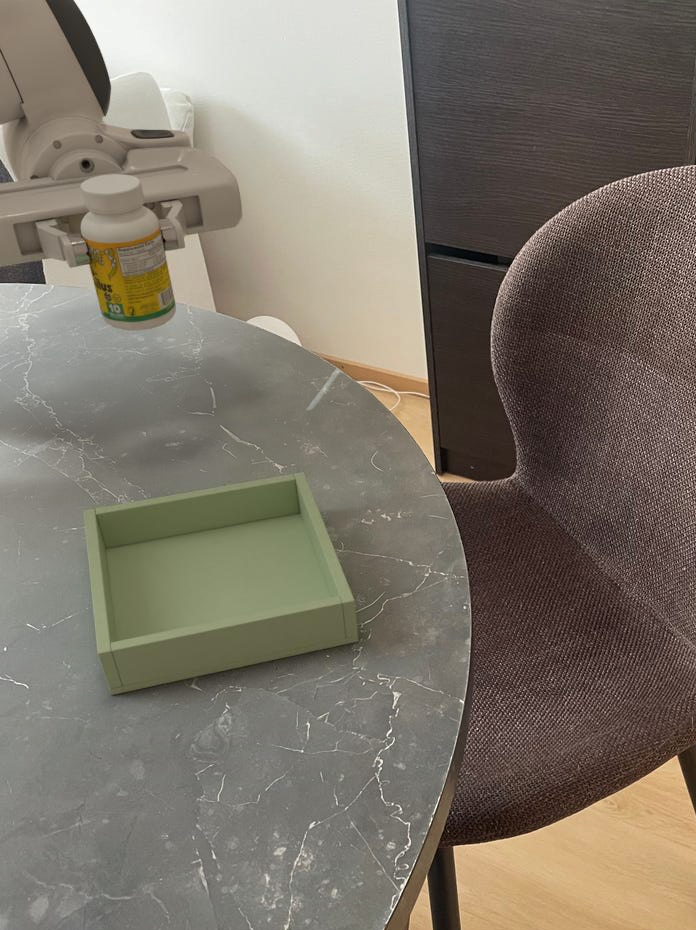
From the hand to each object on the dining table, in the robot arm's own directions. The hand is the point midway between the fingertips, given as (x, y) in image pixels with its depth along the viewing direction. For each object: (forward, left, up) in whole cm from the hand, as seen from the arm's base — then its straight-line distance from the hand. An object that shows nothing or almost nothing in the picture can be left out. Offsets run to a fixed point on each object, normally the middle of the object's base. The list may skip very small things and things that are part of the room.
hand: (127, 247), depth 73 cm
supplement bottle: (0, +1, -6) cm, 6 cm away
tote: (+1, -19, -17) cm, 26 cm away
